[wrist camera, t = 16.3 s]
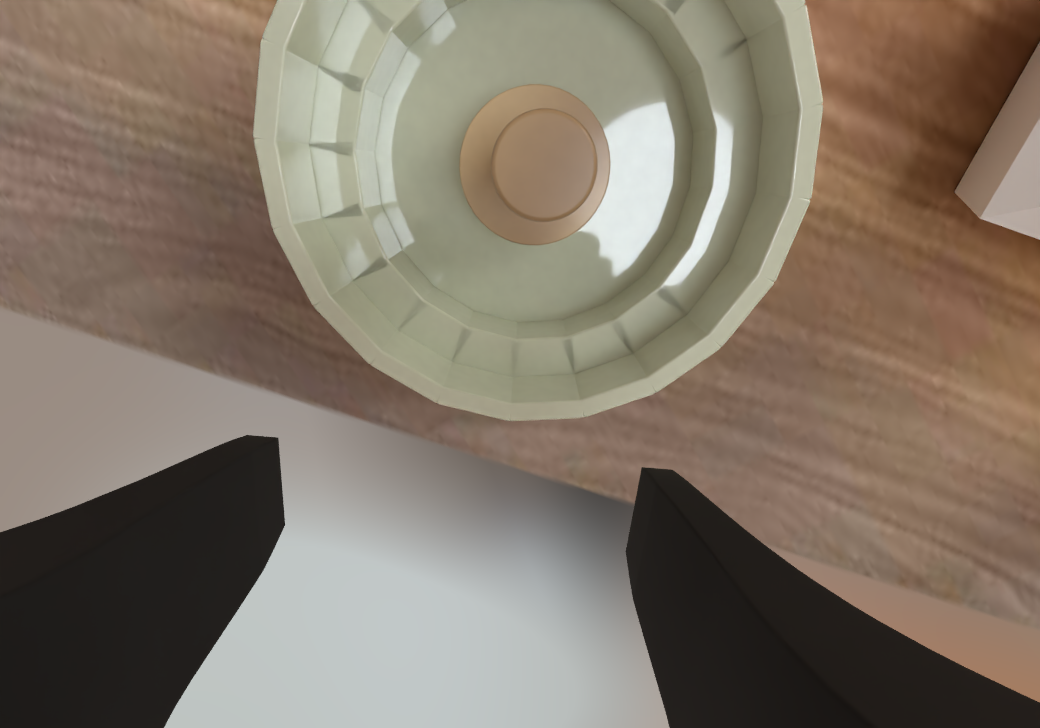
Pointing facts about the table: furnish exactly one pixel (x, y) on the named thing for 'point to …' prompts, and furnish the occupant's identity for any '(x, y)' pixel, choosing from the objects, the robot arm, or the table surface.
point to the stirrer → (534, 164)
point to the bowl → (556, 266)
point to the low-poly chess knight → (1010, 161)
